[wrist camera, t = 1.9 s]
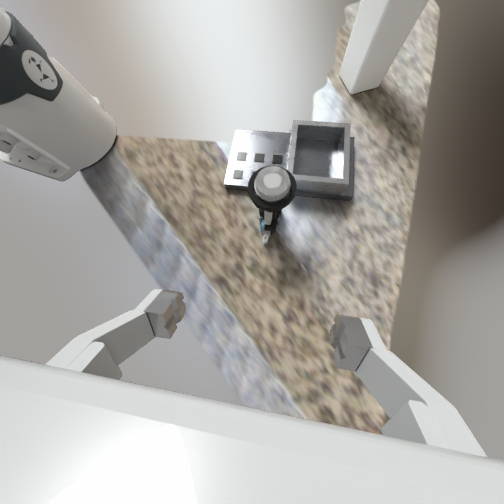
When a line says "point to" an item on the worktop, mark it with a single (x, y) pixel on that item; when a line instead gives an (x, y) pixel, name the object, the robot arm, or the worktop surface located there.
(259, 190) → the push button
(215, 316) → the worktop surface
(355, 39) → the white bottle
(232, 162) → the organizer
